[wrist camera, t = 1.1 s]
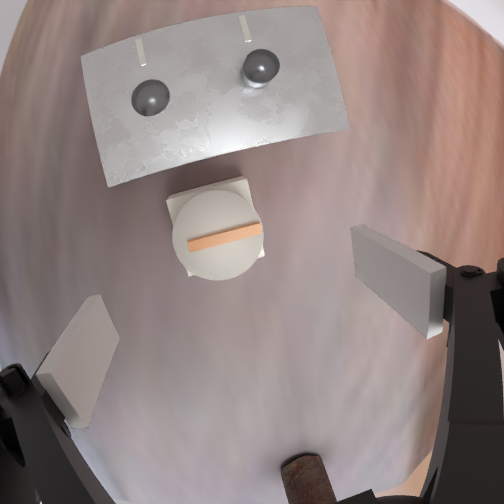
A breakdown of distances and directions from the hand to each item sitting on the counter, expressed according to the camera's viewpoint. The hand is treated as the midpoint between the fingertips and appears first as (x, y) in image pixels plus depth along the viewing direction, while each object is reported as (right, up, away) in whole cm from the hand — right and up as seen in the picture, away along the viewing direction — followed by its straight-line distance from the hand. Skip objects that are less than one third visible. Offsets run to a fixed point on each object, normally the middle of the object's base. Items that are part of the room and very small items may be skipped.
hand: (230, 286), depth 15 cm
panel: (-3, +18, +12) cm, 21 cm away
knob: (-3, +5, +15) cm, 16 cm away
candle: (+9, -35, +30) cm, 47 cm away
